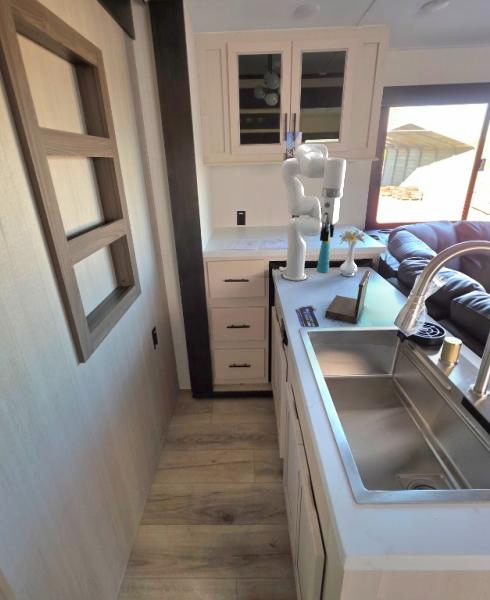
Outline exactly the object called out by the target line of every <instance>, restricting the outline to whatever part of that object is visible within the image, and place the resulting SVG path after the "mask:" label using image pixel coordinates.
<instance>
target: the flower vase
mask: <svg viewBox="0 0 490 600" xmlns="http://www.w3.org/2000/svg"><path fill="white" fill-rule="evenodd" d="M339 238H340V239H339V245H341V244H342V243H343V242H345V243H347V244H348V250H347V255H346V256H347V257H346V259H345V260H344V262H343V263H342V264H341V265H340V266H339V271H340V272H341V275H342V276H344V277H354V275H355V274H356V273H357V272H358V269H359V268H358V267H357V265H356V263H355V260H354V255H355V248H356V245H357V243H358V241H360V242H362V243H363V244H364V245H366V241H365V239H366V237H365V233H363V231H360V233H359V230H358V229H355V230H353V228H349V229H347V228H345V229H344V231H343V232H342V233H341V234H340V235H339Z"/></svg>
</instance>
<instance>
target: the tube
mask: <svg viewBox="0 0 490 600" xmlns="http://www.w3.org/2000/svg"><path fill="white" fill-rule="evenodd" d="M330 253H331V237H330V227H329V238H328V241H321V245H320V249H319V255H318V260H317V265H316V273H319V274H328V273H329V270H330V255H331V254H330Z"/></svg>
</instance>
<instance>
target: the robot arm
mask: <svg viewBox="0 0 490 600" xmlns="http://www.w3.org/2000/svg"><path fill="white" fill-rule="evenodd" d="M294 154H295V155H294V157H292V158H287V159H285V160H284V161H283V163H282V166H281V175H282V181H283V183H284V186H285V190H286V200H287V208H288V213H289V215H291V216H296V217H292V218H290V219H288V221H287V223H286V232H287V251H286V252H287V253H286V266H285V267H283V266H279V268H278V271H279V272H281V273H282V277H283V279H285V280H289V281H294V282H298V281H303V280H305V279H307V274H306V273H305V266H306V265H305V264H306V263H305V262H306V253H307V244H306V242H305V240H304V239H303V237H316V236H319V235H320V236H319V241H320V242H322V241H328V238H329V227H330V238H334V233H335V224H336V223H338V222H339V214H340V203H341V201H340V199H341V198H342V197H343V190H344V189H343V188H344V182H345V181H344V180H345V174H346V166H347V161H346V159H345V158H343V157H329V151H328V147H327V146H326V145H325V144H323V143H303V144H300V145H299V146H298V147H297V148H296V149H295V152H294ZM297 177H306V178H309V179H323V180H322V187H321V188H322V189H321V198H323V199H322V206H321V202H320V200H319V198H318V197H317V196H315V195H305V189H304V185H303V184H302V182H301V180H299V179H298V178H297Z"/></svg>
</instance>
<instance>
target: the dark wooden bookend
mask: <svg viewBox="0 0 490 600" xmlns="http://www.w3.org/2000/svg"><path fill="white" fill-rule="evenodd" d="M370 275H371V270H365V272H364V274H363V276H362V278H361V280H360V282H359V284H358V291H357V295H356V296H357V298H354V297H350V296H349V297H348V296H344V295H343V296H342V295H338V294H336V295H335V296H334V298H333V299H332V301H331V303H329V306H328V307H327V309H326V310H325V314H324V317H325V318H327V319H331V320H336V321H339V322H340V321H341V322H345V323H348V324H349V323H350V324H355V325H356V324H357V323H358V321H359V319H360V317H361V314H362V311H363V309H364V305H365V301H366V295H367V289H368V283H369V278H370Z"/></svg>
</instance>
